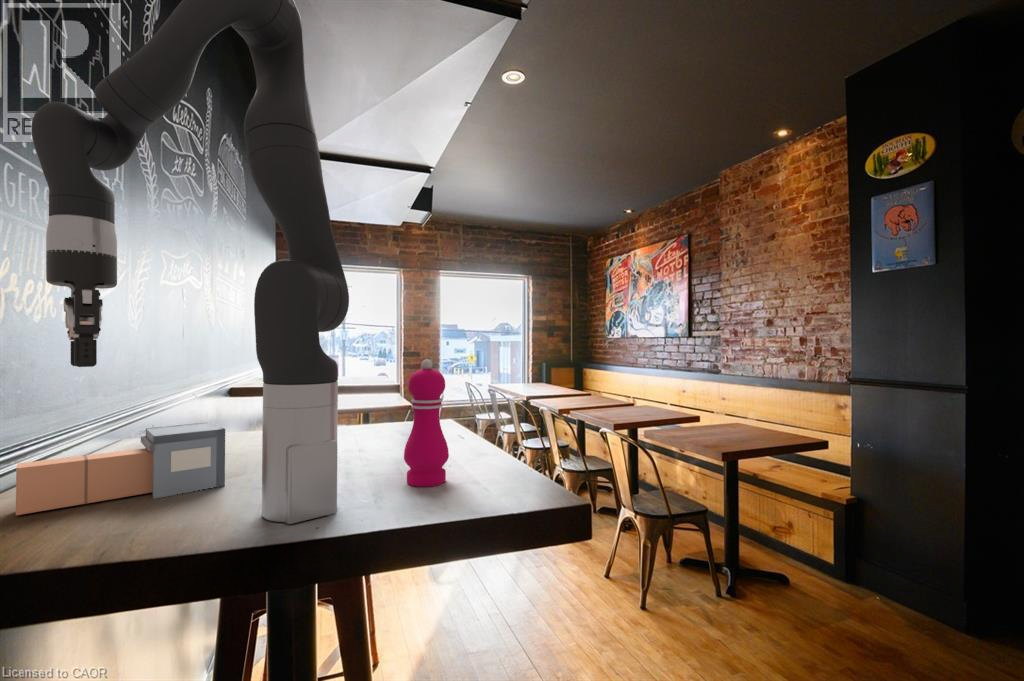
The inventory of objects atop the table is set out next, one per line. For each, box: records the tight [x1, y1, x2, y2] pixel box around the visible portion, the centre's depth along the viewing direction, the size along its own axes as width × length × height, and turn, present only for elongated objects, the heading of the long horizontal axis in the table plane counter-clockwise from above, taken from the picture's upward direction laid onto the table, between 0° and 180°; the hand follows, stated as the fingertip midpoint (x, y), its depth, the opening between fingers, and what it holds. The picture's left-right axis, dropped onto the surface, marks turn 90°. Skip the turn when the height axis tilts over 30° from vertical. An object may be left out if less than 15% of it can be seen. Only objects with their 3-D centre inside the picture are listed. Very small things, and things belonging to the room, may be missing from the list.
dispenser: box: [140, 421, 226, 499], centre depth 75 cm, size 9×10×9 cm
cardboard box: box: [15, 447, 153, 516], centre depth 68 cm, size 4×15×6 cm, turn 134°
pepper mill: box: [403, 358, 450, 488], centre depth 78 cm, size 7×7×20 cm
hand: (83, 366), depth 68 cm, fingers open, 8 cm apart
